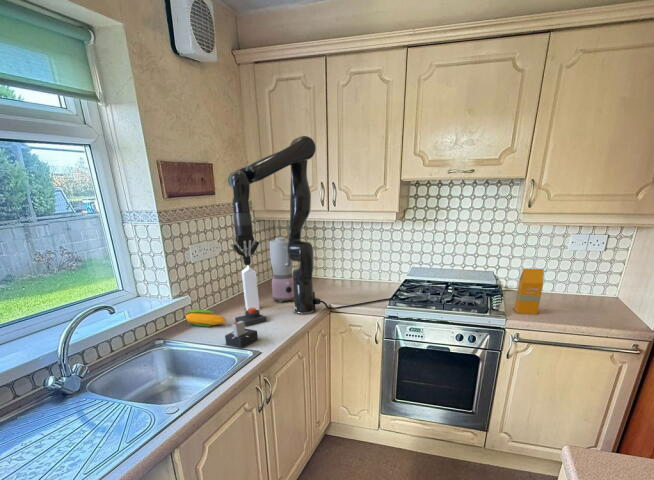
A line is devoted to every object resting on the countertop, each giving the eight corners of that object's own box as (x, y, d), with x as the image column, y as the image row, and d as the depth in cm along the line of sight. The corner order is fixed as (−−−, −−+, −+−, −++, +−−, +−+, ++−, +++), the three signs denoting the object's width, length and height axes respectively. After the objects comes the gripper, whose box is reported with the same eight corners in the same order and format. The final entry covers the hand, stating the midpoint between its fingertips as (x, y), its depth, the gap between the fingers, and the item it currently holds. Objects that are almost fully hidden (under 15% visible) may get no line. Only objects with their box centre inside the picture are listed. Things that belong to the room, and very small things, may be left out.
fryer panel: (242, 336, 169) (241, 327, 167) (260, 340, 165) (259, 330, 163) (223, 346, 160) (222, 336, 158) (242, 350, 156) (241, 340, 154)
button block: (256, 316, 193) (255, 308, 191) (266, 321, 187) (265, 313, 185) (235, 322, 187) (234, 313, 185) (245, 326, 180) (244, 318, 179)
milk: (257, 306, 208) (253, 263, 199) (259, 309, 203) (255, 265, 194) (245, 308, 206) (240, 264, 197) (247, 311, 201) (242, 266, 192)
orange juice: (537, 314, 190) (546, 271, 181) (517, 313, 191) (524, 270, 183) (533, 309, 197) (541, 267, 188) (514, 308, 198) (521, 267, 190)
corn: (190, 305, 185) (229, 308, 180) (193, 320, 189) (231, 324, 183) (180, 311, 179) (220, 314, 173) (184, 327, 182) (223, 330, 177)
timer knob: (241, 332, 162) (240, 320, 160) (245, 333, 161) (243, 320, 159) (234, 336, 158) (232, 323, 156) (237, 337, 157) (236, 324, 155)
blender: (269, 298, 221) (264, 237, 208) (289, 295, 227) (286, 235, 213) (281, 305, 209) (276, 241, 195) (302, 302, 214) (299, 239, 201)
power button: (253, 310, 190) (253, 307, 189) (257, 312, 187) (257, 308, 186) (247, 312, 187) (246, 308, 187) (251, 314, 185) (250, 310, 184)
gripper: (233, 225, 166) (238, 268, 173) (261, 222, 174) (264, 264, 181) (224, 224, 171) (229, 265, 178) (252, 221, 179) (256, 261, 186)
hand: (247, 264), depth 180 cm, fingers closed
